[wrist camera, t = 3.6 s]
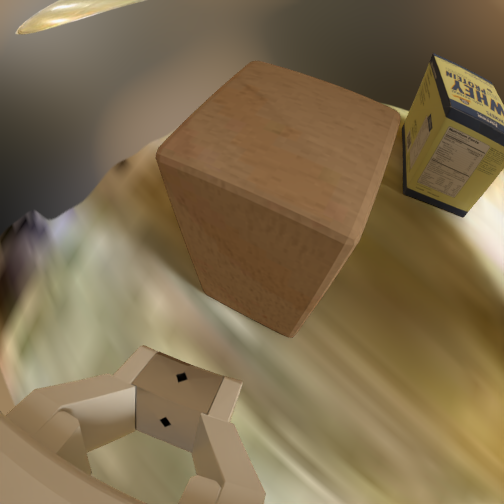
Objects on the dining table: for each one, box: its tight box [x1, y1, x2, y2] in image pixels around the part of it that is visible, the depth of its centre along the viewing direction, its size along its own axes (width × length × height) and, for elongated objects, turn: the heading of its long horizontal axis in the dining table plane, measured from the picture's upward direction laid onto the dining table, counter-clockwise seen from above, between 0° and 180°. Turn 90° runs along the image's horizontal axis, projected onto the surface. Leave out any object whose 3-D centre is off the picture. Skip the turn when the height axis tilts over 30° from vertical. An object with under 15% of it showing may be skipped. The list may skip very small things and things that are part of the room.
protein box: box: [402, 53, 504, 217], centre depth 34 cm, size 10×16×16 cm
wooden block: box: [156, 61, 400, 338], centre depth 24 cm, size 10×10×20 cm
